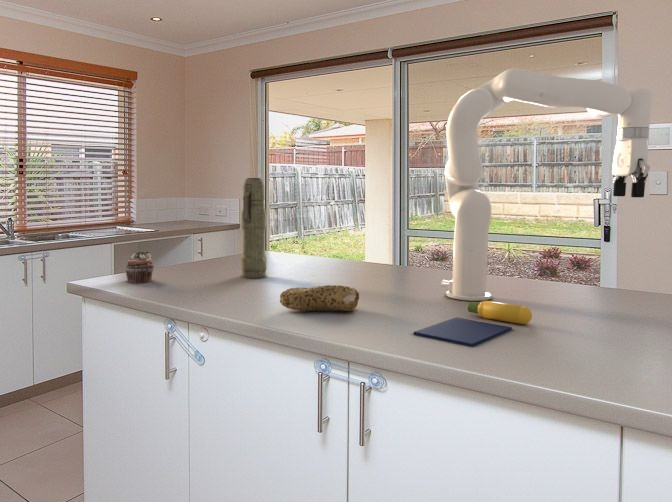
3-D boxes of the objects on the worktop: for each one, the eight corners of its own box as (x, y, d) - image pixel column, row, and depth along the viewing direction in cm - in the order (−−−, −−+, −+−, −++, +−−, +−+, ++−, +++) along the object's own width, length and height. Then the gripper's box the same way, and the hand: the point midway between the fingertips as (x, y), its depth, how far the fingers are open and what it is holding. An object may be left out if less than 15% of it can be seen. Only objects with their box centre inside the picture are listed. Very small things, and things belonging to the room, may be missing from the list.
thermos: (235, 278, 210) (235, 177, 205) (248, 273, 221) (248, 177, 216) (259, 279, 206) (259, 177, 202) (271, 274, 217) (271, 177, 213)
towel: (413, 334, 135) (413, 331, 135) (456, 319, 149) (456, 317, 149) (472, 346, 125) (472, 343, 125) (511, 329, 139) (511, 327, 139)
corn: (465, 316, 152) (466, 299, 152) (473, 313, 155) (474, 297, 155) (527, 327, 141) (528, 308, 141) (534, 323, 144) (535, 306, 144)
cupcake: (131, 278, 209) (130, 249, 208) (157, 278, 208) (157, 250, 207) (120, 283, 200) (119, 253, 199) (148, 283, 199) (147, 253, 197)
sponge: (356, 311, 164) (287, 292, 168) (362, 285, 161) (292, 267, 165) (348, 331, 152) (274, 310, 156) (354, 303, 149) (279, 283, 153)
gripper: (603, 137, 175) (599, 195, 177) (635, 132, 158) (630, 197, 160) (630, 137, 175) (625, 196, 177) (665, 132, 158) (659, 197, 160)
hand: (627, 196), depth 169 cm, fingers open, 9 cm apart
